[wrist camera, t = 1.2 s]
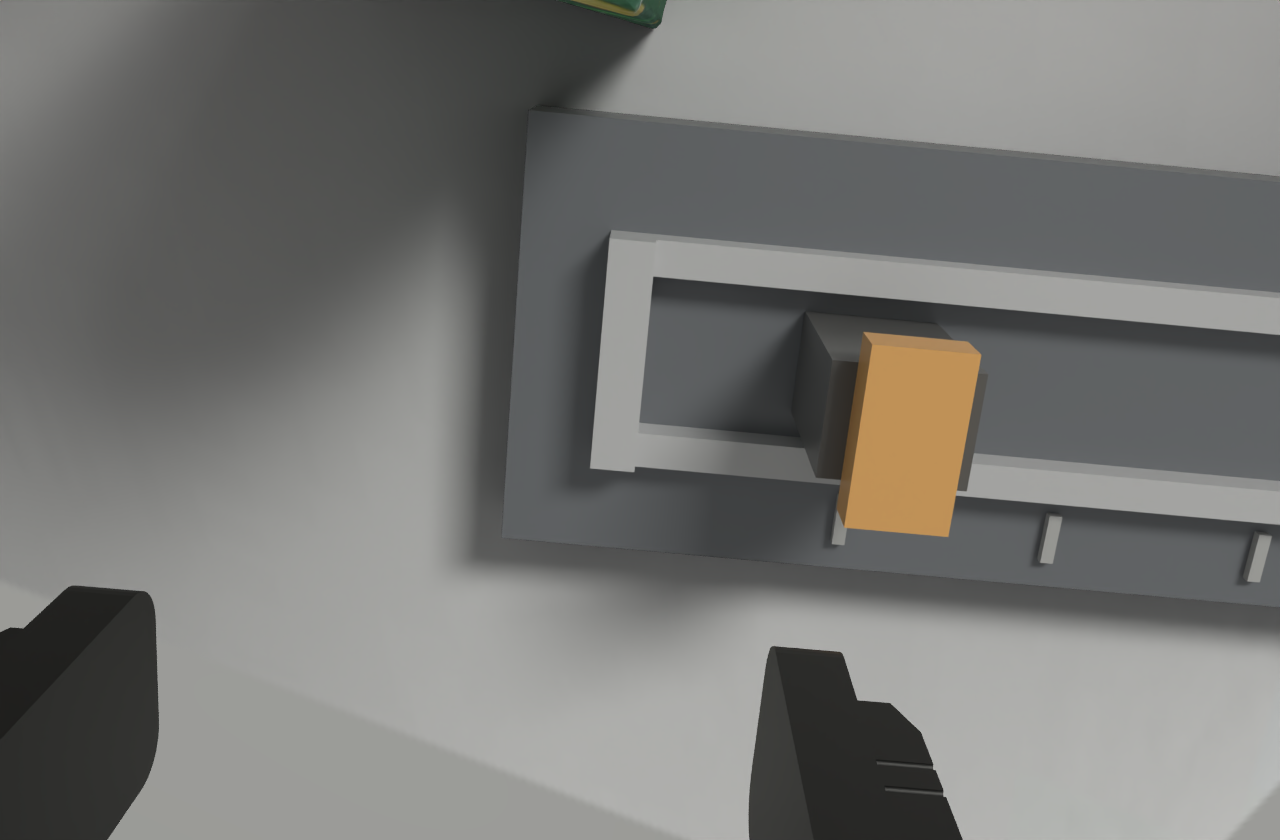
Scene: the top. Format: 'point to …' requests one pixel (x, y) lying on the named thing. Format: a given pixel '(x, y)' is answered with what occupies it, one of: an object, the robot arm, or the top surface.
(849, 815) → the robot arm
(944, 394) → the fader tab
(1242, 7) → the top surface
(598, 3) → the coffee box
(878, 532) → the console board
